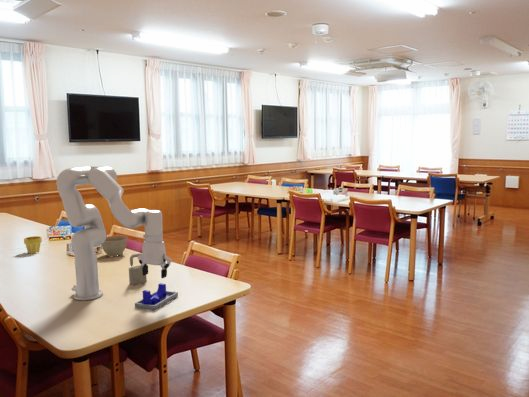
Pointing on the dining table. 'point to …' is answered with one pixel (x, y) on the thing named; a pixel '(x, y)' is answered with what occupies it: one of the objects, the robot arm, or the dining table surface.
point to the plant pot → (33, 243)
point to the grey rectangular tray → (162, 302)
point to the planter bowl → (114, 245)
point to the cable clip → (156, 298)
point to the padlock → (136, 273)
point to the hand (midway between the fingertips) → (154, 276)
